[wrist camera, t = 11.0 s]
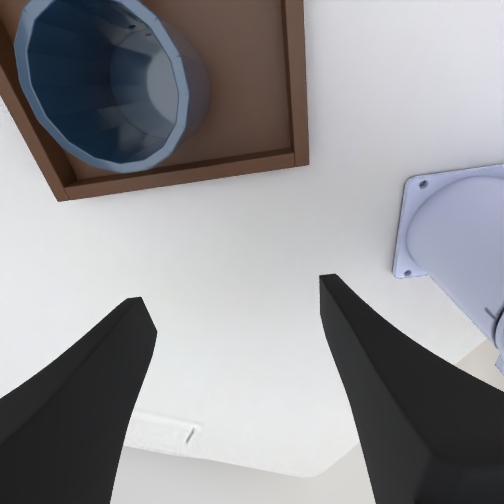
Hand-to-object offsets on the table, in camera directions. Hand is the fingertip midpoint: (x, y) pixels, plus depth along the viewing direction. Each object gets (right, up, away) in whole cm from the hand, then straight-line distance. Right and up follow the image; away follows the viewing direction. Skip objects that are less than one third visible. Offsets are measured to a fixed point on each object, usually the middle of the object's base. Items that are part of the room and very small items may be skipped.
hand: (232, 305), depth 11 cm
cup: (-4, +12, +3) cm, 13 cm away
